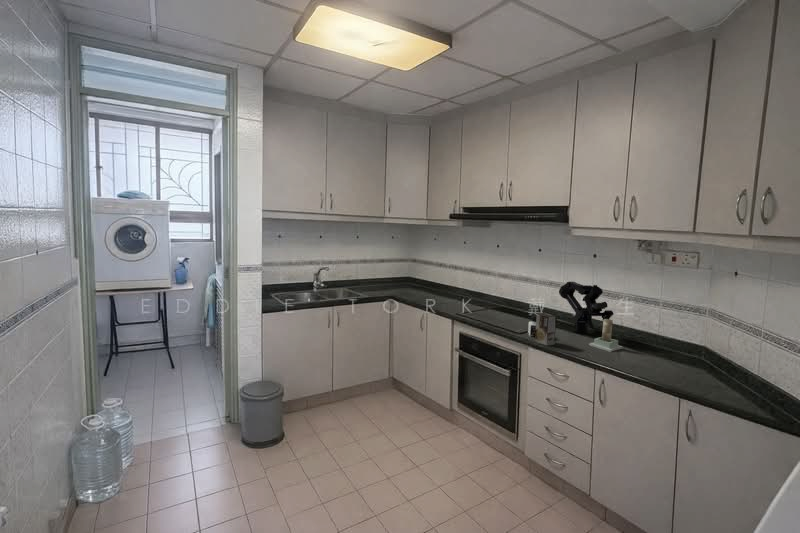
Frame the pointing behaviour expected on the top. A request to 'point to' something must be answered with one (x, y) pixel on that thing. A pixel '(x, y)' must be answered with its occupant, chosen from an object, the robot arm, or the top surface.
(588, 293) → the robot arm
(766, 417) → the top surface
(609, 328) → the birch peg
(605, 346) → the socket collar
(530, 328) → the medicine bottle
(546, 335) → the coffee box
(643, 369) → the top surface
